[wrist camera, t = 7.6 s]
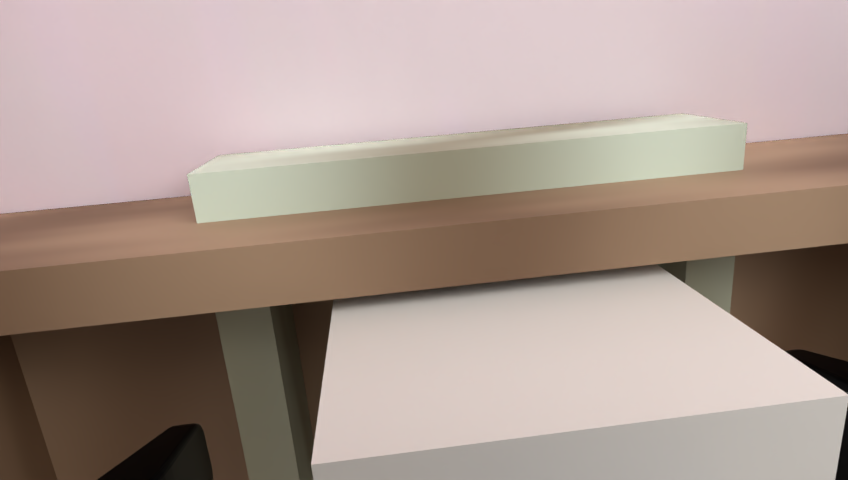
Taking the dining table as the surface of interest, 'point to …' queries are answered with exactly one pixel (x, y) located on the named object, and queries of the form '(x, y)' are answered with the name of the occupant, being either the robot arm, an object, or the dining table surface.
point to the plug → (566, 387)
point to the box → (381, 270)
